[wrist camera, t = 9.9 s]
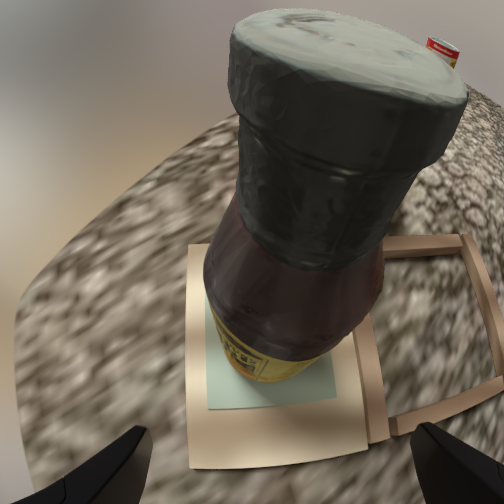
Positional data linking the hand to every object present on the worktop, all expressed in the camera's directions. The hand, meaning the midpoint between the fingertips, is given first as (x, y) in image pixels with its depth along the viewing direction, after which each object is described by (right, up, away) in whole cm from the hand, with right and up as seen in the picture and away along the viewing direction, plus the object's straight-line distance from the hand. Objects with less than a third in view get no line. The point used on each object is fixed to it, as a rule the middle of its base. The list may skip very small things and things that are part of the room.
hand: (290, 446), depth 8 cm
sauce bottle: (0, -1, +13) cm, 13 cm away
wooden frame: (+9, -1, +14) cm, 17 cm away
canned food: (+41, +46, +44) cm, 76 cm away
